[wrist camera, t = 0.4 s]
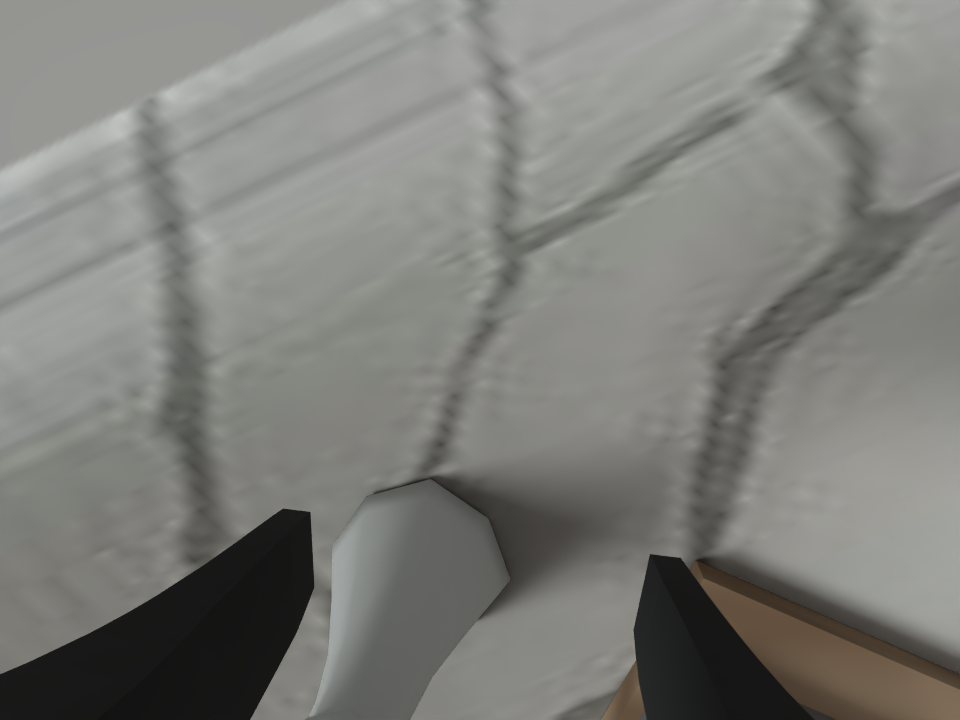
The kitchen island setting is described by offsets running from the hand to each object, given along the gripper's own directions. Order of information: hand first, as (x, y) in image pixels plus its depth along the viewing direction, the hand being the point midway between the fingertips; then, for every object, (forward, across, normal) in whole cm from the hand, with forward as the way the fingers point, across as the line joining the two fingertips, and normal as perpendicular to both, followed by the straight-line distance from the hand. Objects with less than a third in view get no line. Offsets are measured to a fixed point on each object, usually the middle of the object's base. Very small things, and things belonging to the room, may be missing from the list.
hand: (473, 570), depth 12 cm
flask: (+10, +3, +8) cm, 13 cm away
